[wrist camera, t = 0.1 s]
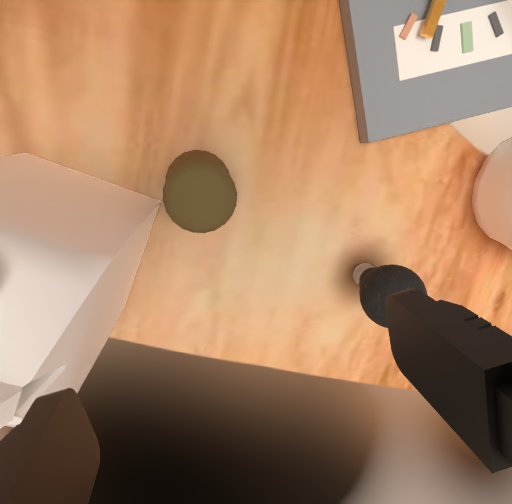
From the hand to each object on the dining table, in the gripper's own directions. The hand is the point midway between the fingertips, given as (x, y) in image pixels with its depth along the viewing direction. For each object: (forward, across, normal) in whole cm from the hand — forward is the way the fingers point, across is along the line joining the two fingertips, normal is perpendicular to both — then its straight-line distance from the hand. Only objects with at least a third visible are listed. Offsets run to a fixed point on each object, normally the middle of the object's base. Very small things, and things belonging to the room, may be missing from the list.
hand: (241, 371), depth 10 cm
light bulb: (+29, -14, +11) cm, 34 cm away
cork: (+29, 0, -2) cm, 29 cm away
